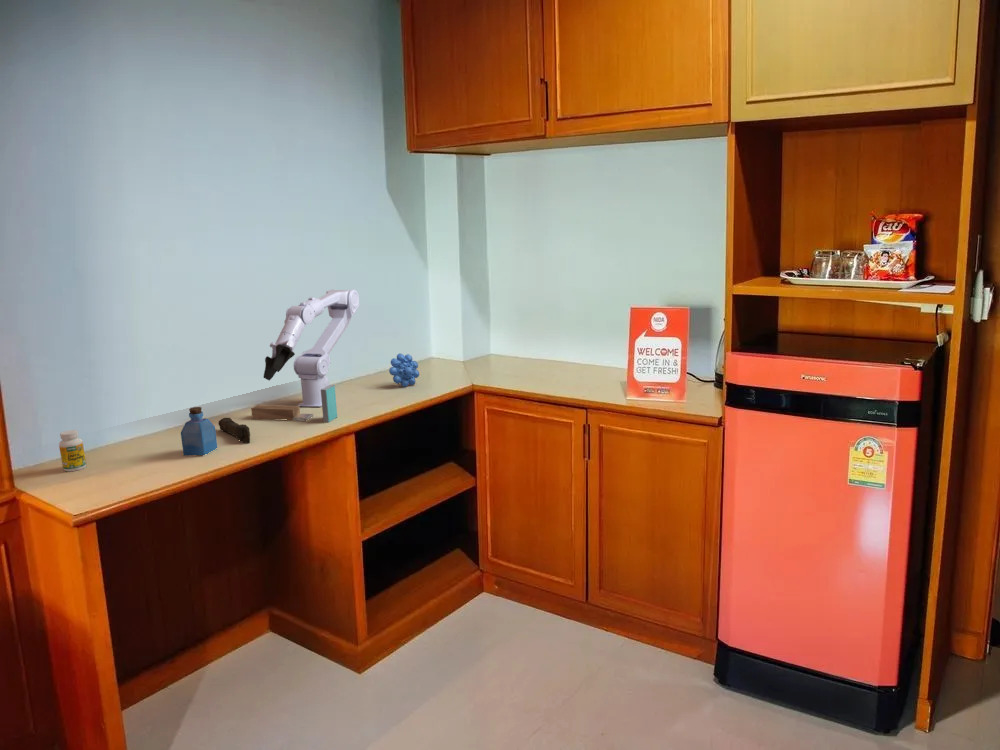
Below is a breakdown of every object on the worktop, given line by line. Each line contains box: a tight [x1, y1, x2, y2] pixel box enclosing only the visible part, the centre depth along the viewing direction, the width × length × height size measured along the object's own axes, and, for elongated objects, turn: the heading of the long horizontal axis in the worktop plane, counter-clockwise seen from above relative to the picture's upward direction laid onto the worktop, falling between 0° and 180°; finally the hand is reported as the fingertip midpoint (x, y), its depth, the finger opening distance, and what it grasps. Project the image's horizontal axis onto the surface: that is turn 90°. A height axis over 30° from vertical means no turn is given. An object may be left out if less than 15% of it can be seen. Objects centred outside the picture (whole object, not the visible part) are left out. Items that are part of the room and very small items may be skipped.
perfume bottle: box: [180, 406, 218, 456], centre depth 217 cm, size 6×6×12 cm
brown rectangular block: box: [251, 404, 314, 422], centre depth 249 cm, size 5×18×4 cm, turn 75°
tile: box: [321, 384, 338, 424], centre depth 244 cm, size 6×2×10 cm, turn 165°
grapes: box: [388, 353, 420, 388], centre depth 281 cm, size 12×7×12 cm, turn 128°
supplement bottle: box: [58, 429, 87, 472], centre depth 208 cm, size 5×5×10 cm
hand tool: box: [218, 417, 251, 444], centre depth 231 cm, size 19×4×5 cm, turn 34°
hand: (271, 374), depth 243 cm, fingers open, 7 cm apart
